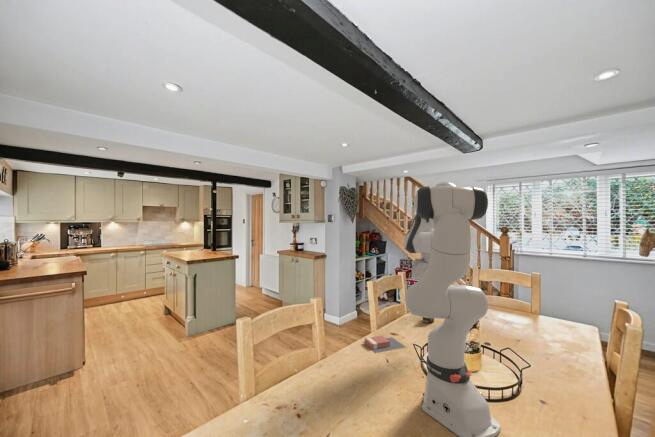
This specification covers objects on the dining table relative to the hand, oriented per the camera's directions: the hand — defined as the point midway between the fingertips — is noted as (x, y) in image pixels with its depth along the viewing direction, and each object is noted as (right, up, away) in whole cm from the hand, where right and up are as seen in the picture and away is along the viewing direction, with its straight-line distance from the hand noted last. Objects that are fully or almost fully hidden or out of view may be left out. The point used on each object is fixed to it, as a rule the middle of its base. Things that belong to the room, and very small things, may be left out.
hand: (430, 286), depth 129 cm
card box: (-22, -28, +2) cm, 35 cm away
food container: (+12, -30, +32) cm, 46 cm away
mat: (-23, -29, 0) cm, 37 cm away
